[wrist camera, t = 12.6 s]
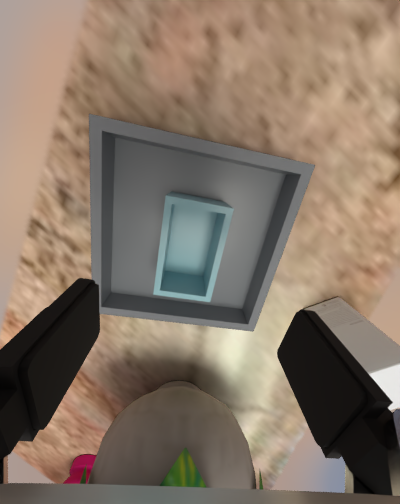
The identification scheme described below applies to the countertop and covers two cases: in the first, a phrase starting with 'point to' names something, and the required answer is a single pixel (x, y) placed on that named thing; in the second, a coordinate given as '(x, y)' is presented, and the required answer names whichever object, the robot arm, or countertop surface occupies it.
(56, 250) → the countertop surface
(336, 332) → the small box
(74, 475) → the pepper mill
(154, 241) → the gray square tray
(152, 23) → the countertop surface
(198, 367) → the countertop surface
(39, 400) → the robot arm
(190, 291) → the small crate
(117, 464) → the flower arrangement
